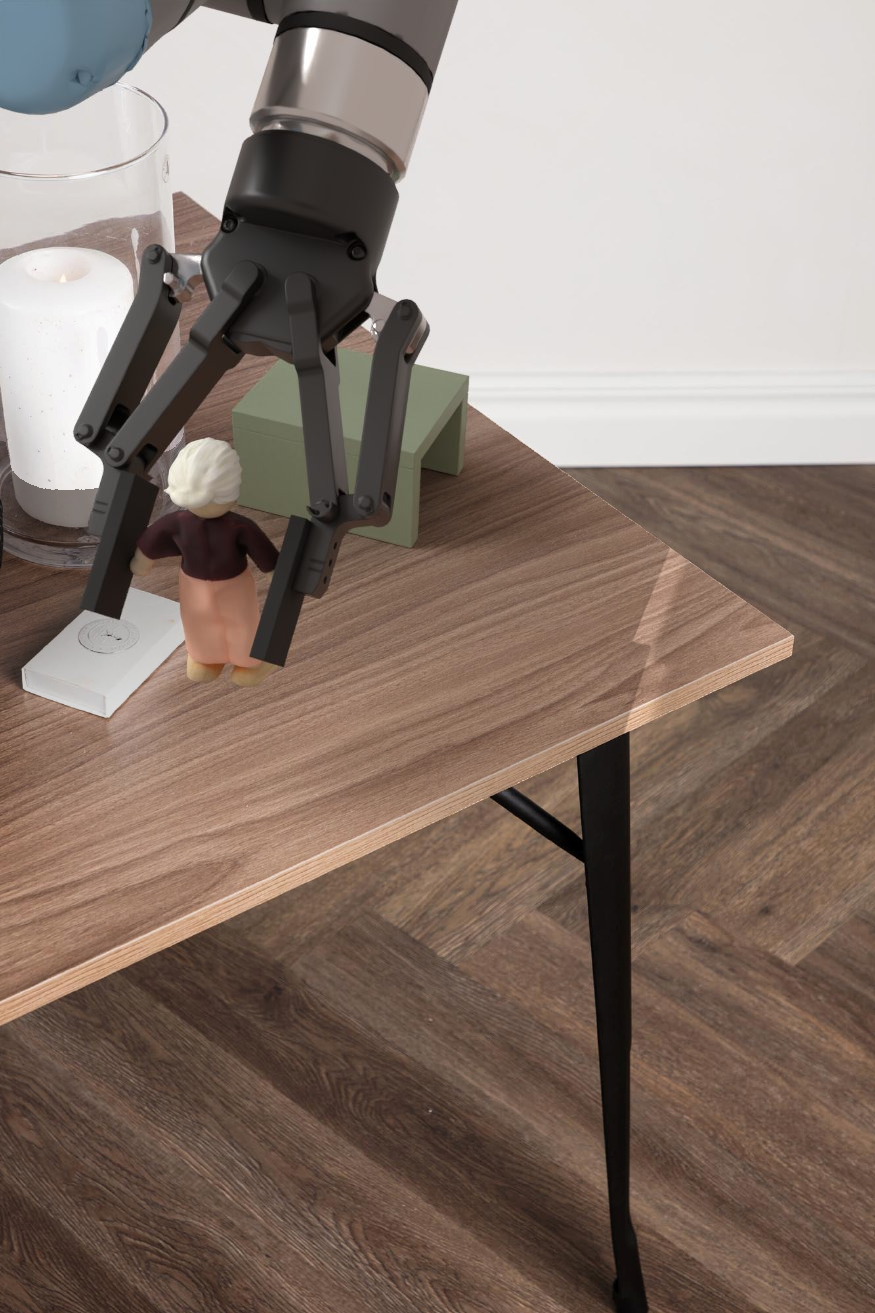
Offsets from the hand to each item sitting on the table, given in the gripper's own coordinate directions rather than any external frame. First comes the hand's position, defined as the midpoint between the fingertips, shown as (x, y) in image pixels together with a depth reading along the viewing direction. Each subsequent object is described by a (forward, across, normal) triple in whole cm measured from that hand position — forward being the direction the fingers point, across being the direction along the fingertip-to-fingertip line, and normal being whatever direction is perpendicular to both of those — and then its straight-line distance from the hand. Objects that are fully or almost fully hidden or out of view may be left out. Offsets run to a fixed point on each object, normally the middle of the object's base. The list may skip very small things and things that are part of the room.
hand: (182, 637), depth 64 cm
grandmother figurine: (+1, 0, -6) cm, 6 cm away
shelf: (-13, +4, -29) cm, 32 cm away
